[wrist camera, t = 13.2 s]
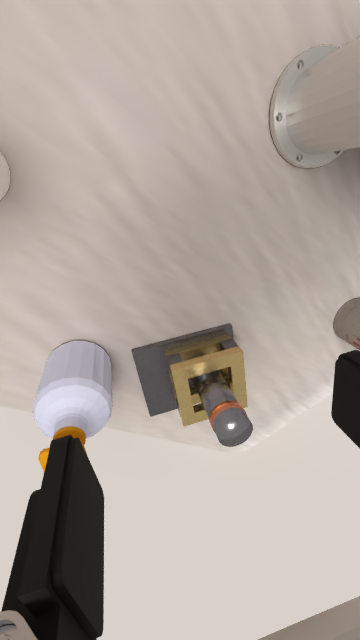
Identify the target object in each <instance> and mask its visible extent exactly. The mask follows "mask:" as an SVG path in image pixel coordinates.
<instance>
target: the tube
mask: <svg viewBox="0 0 360 640" xmlns="http://www.w3.org/2000/svg"><path fill="white" fill-rule="evenodd" d="M191 380H192V382H193V384H194V386H195V389H196V391H197V393H198V395H199V397H200V400H201V402H202V404H203V406H204V409H205V411H206V413H207V415H208V417H209V421H210V424H211V426H212V428H213V430H214V432H215V433H216V435H217V437H218V440H219V442H220V443H221V444H222V445H224V446H228V447H232V446H237V445H239V444H242V443H243V442H245V441H246V440H247V439H248V438H249V437H250V435H251V433H252V430H253V426H252V423H251V422H250V420H249V418H248V417H247V414H246V412H245V410H244V409H243V407H242V406H241V404H240V403H239V402H238V401H237V399H236V397H235V396H234V394H233V393H232V391H231V389H230V388H229V386H228V385H227V383H226V381H225V380H224V378H223V377H222V375H221V373H220V372H219V370H217V371H213V372H209V373H206V374H202V375H199V376H195V377H192V378H191Z"/></svg>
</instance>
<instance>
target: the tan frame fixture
mask: <svg viewBox="0 0 360 640" xmlns="http://www.w3.org/2000/svg"><path fill="white" fill-rule="evenodd" d="M132 354H133V357H134V361H135V364H136V368H137V371H138V375H139V378H140V382H141V385H142V389H143V392H144V396H145V399H146V403H147V406H148V410H149V414H150V417H151V416H154V415H158V414H161V413H164V412H168V411H171V410H174V409H178V410H179V413H180V417H181V420H182V423H183V426H187V425H190V424H193V423H197V422H200V421H203V420H206V419H209V417H208V415H207V413H206V411H205V409H204V406H203V404H202V403H201V404H198V405H195V406H193V404H196V403H200V402H201V400H200V397H199V395H198V393H197V391H196V389H195V386H194V384H193V382H192V380H191V378H192V377H195V376H199V375H202V374H206V373H209V372H213V371H217V370H219V372H220V373H221V375H222V377H223V378H224V380H225V381H226V383H227V385H228V386H229V388H230V389H231V391H232V393H233V394H234V396H235V397H236V399H237V401H238V402H239V403H240V404H241V406H242V407H243V408H245V407H248V406H247V395H246V383H245V371H244V360H243V351H242V350H241V349H240V347H239V346H238V345H237V344H236V343H235V341H234V340H233V330H232V325H231V324H230V323H229V324H226V325H222V326H218V327H214V328H211V329H207V330H203V331H199V332H195V333H192V334H188V335H184V336H180V337H176V338H173V339H169V340H165V341H161V342H158V343H154V344H150V345H146V346H142V347H139V348H135V349H132Z"/></svg>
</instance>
